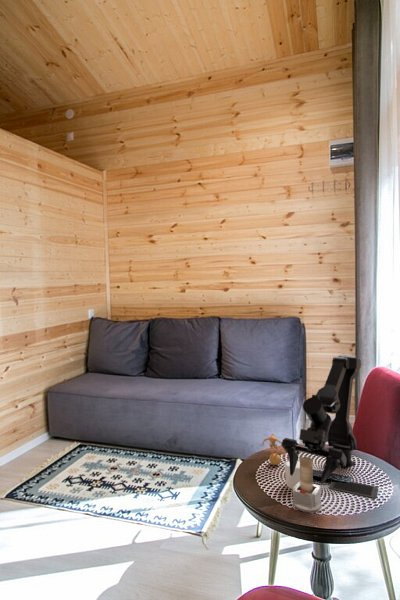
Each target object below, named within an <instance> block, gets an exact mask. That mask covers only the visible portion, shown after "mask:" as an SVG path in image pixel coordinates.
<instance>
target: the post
mask: <svg viewBox="0 0 400 600" xmlns="http://www.w3.org/2000/svg"><path fill="white" fill-rule="evenodd" d="M299 461H300V490H304V491H306V492H307V493H312V492H313V484H314V478H313V477H314V473H313V470H314V469H313V467H314V466H313V465H314V464H313V459H312V458H310V457H309V456H308V457H305V456H303V457H299Z"/></svg>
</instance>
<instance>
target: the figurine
mask: <svg viewBox="0 0 400 600" xmlns="http://www.w3.org/2000/svg"><path fill="white" fill-rule="evenodd" d="M265 441H269V447H270V448H271V449H270V452H271V454H270V456H269V458H268V459H269V463H271V465H273V466H278V465H280V463H281V459H282V458H281V456H280V455H279V454H278V453H277V452H278V445H277V443H276V442H278V443H280V445H281V444H282V441H281V440H279V439H278V438H277V437H276V436H275V434H274V433H271V435H270V436H269V437H267V438H264V439H263V441H262V444H261V445H262V446H263V445H264V444H265ZM273 448H274V449H275V450H274V449H273ZM273 451H275V452H273Z"/></svg>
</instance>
